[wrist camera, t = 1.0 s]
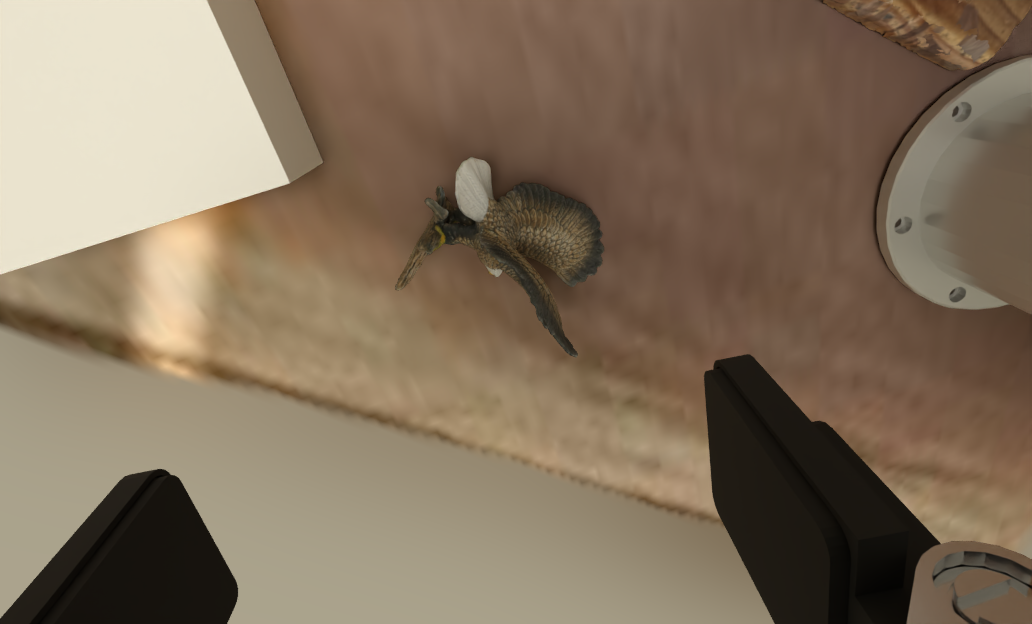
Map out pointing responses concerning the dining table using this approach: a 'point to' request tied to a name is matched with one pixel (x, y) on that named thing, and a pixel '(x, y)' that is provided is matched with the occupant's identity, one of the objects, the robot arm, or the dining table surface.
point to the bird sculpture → (941, 26)
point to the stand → (136, 118)
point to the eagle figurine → (515, 236)
